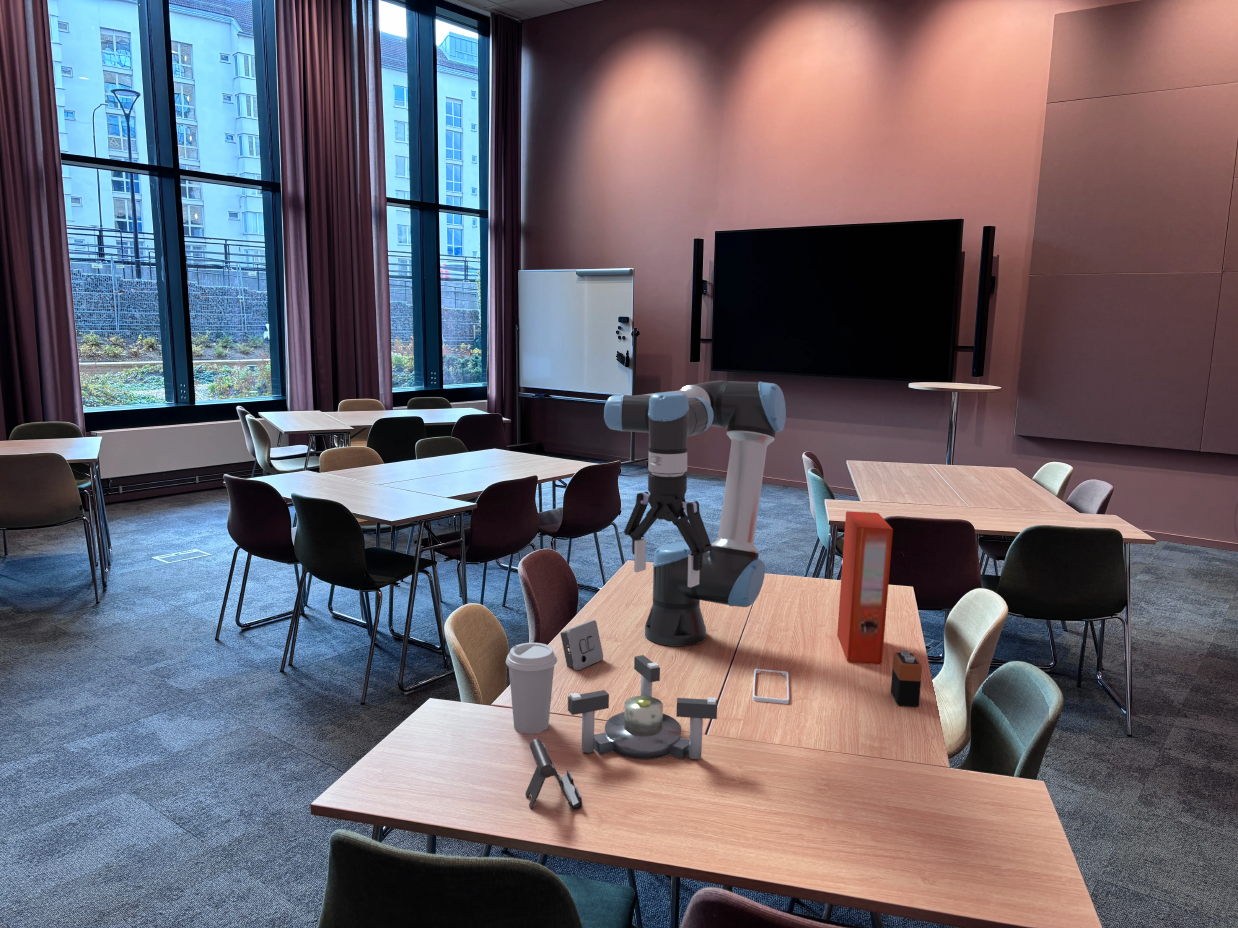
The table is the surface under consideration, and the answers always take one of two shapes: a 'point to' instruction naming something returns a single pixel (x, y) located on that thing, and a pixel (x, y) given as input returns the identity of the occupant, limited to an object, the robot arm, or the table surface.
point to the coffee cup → (531, 685)
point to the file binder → (864, 587)
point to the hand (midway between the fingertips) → (666, 578)
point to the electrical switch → (582, 645)
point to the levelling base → (642, 743)
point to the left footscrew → (696, 719)
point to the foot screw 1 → (588, 713)
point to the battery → (906, 679)
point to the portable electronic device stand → (547, 770)
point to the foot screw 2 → (646, 673)
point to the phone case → (772, 700)
